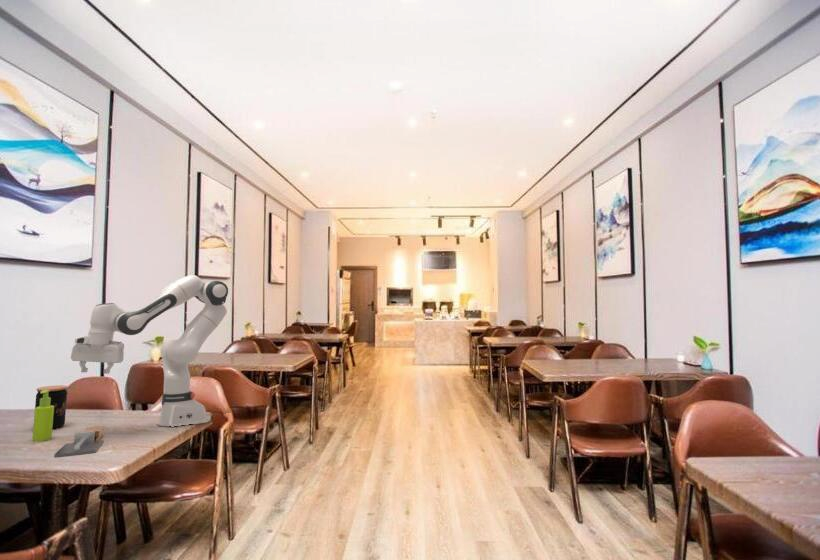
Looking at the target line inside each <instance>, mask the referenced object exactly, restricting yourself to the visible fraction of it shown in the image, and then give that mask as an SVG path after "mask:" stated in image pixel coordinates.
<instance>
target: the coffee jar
mask: <svg viewBox="0 0 820 560" xmlns="http://www.w3.org/2000/svg"><path fill="white" fill-rule="evenodd" d="M67 389H68V386H67V385H59V384H58V385H47V386H41V387H37V388H36V391H37V393H36V394H35V401H34V402H35V406H34V409H35V408H36V407H39V405H40V399H41V398H43V394H40V392H41V391H42V390H50V391H49V394H48V397H50V398H51V402H50V405H52V406H54V414H53V426H52V429H54V430H57V428H58V429H61V428H63V427H62V426H65V423H66V412H67V398H68V391H67ZM34 416H35V414H34ZM60 427H61V428H60Z"/></svg>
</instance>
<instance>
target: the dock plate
mask: <svg viewBox="0 0 820 560" xmlns="http://www.w3.org/2000/svg"><path fill="white" fill-rule="evenodd" d="M83 431H84V430H83ZM83 431H76V432H75V433H74V439H73V440H74V442H69V443H65V444H64V445H63V446H61V448H59V450H57V452H56V453H54V456H53V457H54V458H62V457H69V456H70V457H71V456H78V455H79V456H80V455H87V454H96V452H98V450H99V449H100V448H101V446H102V444H104V439H100V440H97V441H96V440H95V439H96V435H95V431H84V432H83Z"/></svg>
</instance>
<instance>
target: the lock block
mask: <svg viewBox="0 0 820 560" xmlns="http://www.w3.org/2000/svg"><path fill="white" fill-rule="evenodd" d="M104 427H105V426H104V425H97V426H87V427H86V428H85V429H84V430H83V431H82V432H84V431H95V441H97V440H101V438H102V437H103V436H104V432H105V431H104V430H105V429H104Z"/></svg>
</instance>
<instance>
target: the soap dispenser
mask: <svg viewBox="0 0 820 560" xmlns="http://www.w3.org/2000/svg"><path fill="white" fill-rule="evenodd" d="M49 391H50V390H42V391H41V392H40V394H43V398H41V399H40V405H39V407H36V408H35V407H34V415H35V416H34V417H33V427H32V428H33V431H32V442H33V441H41V442H46V441H49V439H50V440H52V436H53V430H52V426H53V414H54V406H52V405H50V402H51V398H50V397H48V394H49ZM45 440H46V441H45Z"/></svg>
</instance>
